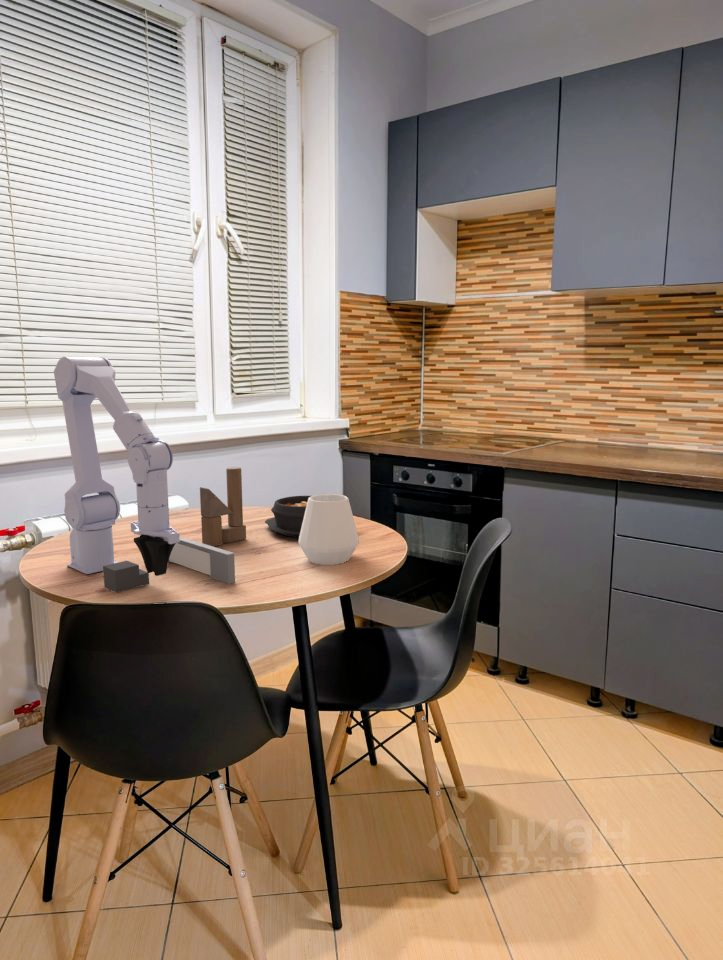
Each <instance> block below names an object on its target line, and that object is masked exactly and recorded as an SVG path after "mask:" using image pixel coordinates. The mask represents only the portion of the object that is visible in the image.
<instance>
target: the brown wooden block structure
mask: <svg viewBox="0 0 723 960" xmlns="http://www.w3.org/2000/svg"><path fill="white" fill-rule="evenodd" d="M225 471H226V495H227V496H226V497H227V498H226V499H227V500H226V502H227V505H226V504H225V502H223V501H222V500H221V499H220V498H219V497H218V496H217V495H216V494H214V492H213V491H211V490H210V489H209V488H206V487H199V499H200V503H199V505H200V516H201V517H200V518H201V520H200V521H201V541H202V542H201V543H203V544H206V545H209V546H213V547H217V546H222V545H223V544H232V543H235V542H239V541H242V540H246V539H247V525H245V524H244V515H243V485H242V483H243V482H242V478H243V477H242V467H240V466H231V467H230V466H229V467H227V468H226V470H225ZM226 515H227V525H223V523H222V518H223V517H222V516H226Z"/></svg>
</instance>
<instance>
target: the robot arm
mask: <svg viewBox="0 0 723 960" xmlns="http://www.w3.org/2000/svg"><path fill="white" fill-rule="evenodd" d="M53 376H54V381H55V388H56V394H57V397H58V400H60V401H61V402H62V408H63V413H64V415H63V416H64V420H65V426H66V431H67V432H66V433H67V438H68V444H69V450H70V456H71V462H72V467H73V468H72V469H73V473H74V480H75V482H74V484H73V485H71V487H70V488H68V490H67V491H66V492H65V493H64V502H65V503H64V509H63V511H64V516H65V520H66V522H67V523H68V525H69V526H70V527H71V531H70V534H69V548H70V561H71V562H68V563H67V565H66V566H68V567H70V568H72V569H74V570H76V571H79V572H81V573H83V574H85V575H90V574H94V573H95V574H96V573H100V572H103V566H105V565H110V564H114V563H118V561H115V551H114V536H113V526H114V525H116V521H117V520H118V518H119V517H120V513H121V505H120V501H119V500H118V497H117V495H116V492H115V486H113V485H112V484H111V483H109V482H108V481H106V480H105V479H103V476H102V470H101V469H102V468H101V463H100V459H99V457H100V456H99V451H98V444H97V438H96V432H95V427H94V426H95V425H94V420H93V415H92V409H91V405H92V403H93V402H94V400H96V399H97V400H98V401H99V402H100V404H101V405H102V406H103V407H104V408H105V410H106V411H107V412H108V413H109V415H110V416H111V418H113V419H112V420H114V423H113V425H112V428H113V431H114V433H115V434H116V435H117V437H118V439H119V441H120V442H121V443H122V446H124V448H125V449H126V451H127V452H128V458H127V464H128V467H129V469H130V470H131V473H132V480H133V482H134V483H135V488H136V503H137V520H136V521H131V522H130V532H132V533H133V534H134V535H137V537H134V538H133V543H134V544H135V545H136V547H137V548H138V550H139V553H140V555H141V557H142V559H143V563H144V566H145V569H146V572H148V573H150V574H151V573H153V574H154V576H156V577H157V576H163V575H166V574H167V570H168V565H169V562H168V561H169V557H170V554H171V552H172V549H173V547H174V545H175V544H176V543H179V542H180V537H181V536H180V532H179V531H176V530H175V529H174V528H173V527H172V526H171V525H170V507H169V490H168V489H169V488H168V486H169V485H168V470H170V469H171V468H172V466H173V460H174V455H173V450H172V449H171V447H170V445H169V443H168V442H166V440H161V438H159V437H156V436H155V435H154V434H153V432H152V430H151V429H150V428H149V426H148V424H147V423H146V421H145V420H144V419H143V417H142V415H141V414H140V413H139V412H136V411H132V410H131V409H130V407H129V405H128V404H127V401H126V400H125V398H124V396H123V395H122V393H121V391H120V389H119V387H118V386H117V384H116V383H117V382H116V368H114V367H113V364H112V363H111V361H110V360H109V358H106V357H103V356H102V357H69V356H62V357H60V358H59V359H58V361H57V363H56V365H55V367H54V370H53ZM96 493H97V494H96ZM90 494H91V495H90ZM92 494H94V495H92ZM86 495H88V496H86ZM89 495H90V496H89Z"/></svg>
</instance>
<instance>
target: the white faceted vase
mask: <svg viewBox="0 0 723 960" xmlns="http://www.w3.org/2000/svg"><path fill="white" fill-rule="evenodd" d="M310 496H311V497H309V498H308V502H307V506H306V510H305V514H304V519H303V523H302V527H301V531H300V535H299V537H298V541H297V542H298V545H299V547H300V549H301V550H302V552H303V554H304V555H305V557H306V558H307V560H308V562H309V563H313V564H315V565H322V566H335V564H336V565H341V564H345V563H347V562H348V561H349V560H350V559H351V557H352V556H353V553H354V552H355V550H356V549H357V548H358V545H359V543H360V539H359V535H358V531H357V526H356V523H355V518H354V515H353V511H352V507H351V504H350V499H349V497H347V496H346V495H343V494H337V493H336V494H335V493H324V494H323V493H321V494H314V495H310ZM346 561H347V562H346ZM344 562H345V563H344ZM340 563H341V564H340Z"/></svg>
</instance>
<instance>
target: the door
mask: <svg viewBox="0 0 723 960" xmlns="http://www.w3.org/2000/svg"><path fill="white" fill-rule="evenodd" d="M169 561H171V563H174V564H177V565H180V566H183V567H185V568H188V569H192V570H195V571H198V572H200V573H203V574H205V575H207V576H208V575H209V576H211V566H210V552H208V551H205V550H202V549H199V548H195V547H192V546H189V545H186V544H183V543H176V544H175V545H174V547H173V549H172V552H171V554H170V557H169Z"/></svg>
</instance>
